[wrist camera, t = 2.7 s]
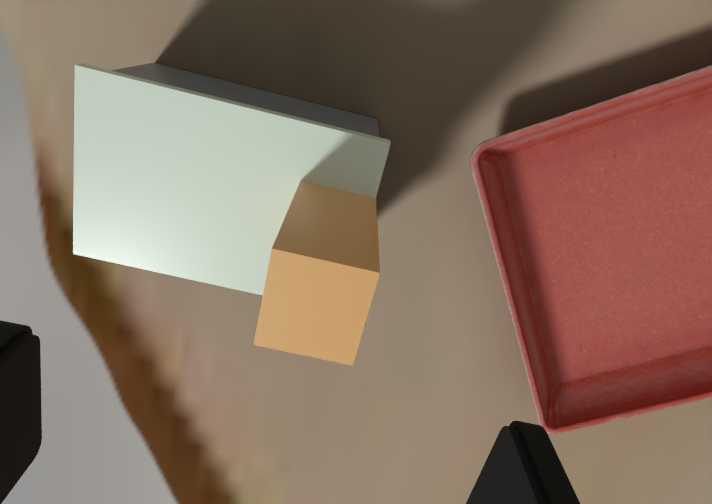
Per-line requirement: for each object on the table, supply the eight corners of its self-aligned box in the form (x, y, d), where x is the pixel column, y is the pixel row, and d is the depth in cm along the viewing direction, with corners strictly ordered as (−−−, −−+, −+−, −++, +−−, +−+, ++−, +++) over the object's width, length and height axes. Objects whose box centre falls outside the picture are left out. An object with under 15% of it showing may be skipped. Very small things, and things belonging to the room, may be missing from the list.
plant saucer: (454, 134, 26) (465, 149, 23) (841, 1, 23) (914, -3, 20) (527, 400, 32) (543, 439, 29) (830, 323, 30) (883, 357, 27)
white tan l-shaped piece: (89, 62, 19) (-71, 85, 12) (389, 137, 20) (402, 198, 13) (85, 244, 22) (-43, 344, 15) (345, 301, 23) (336, 420, 16)
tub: (154, 62, 24) (91, 74, 19) (377, 118, 25) (380, 145, 19) (144, 198, 27) (87, 243, 21) (345, 244, 28) (340, 299, 22)
